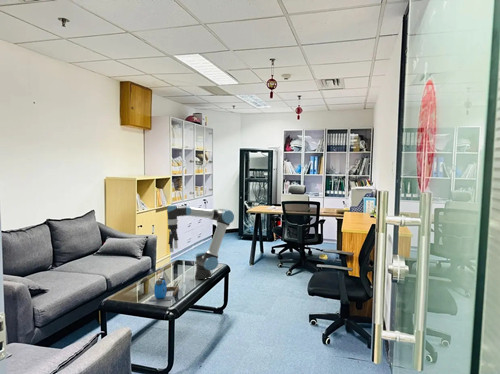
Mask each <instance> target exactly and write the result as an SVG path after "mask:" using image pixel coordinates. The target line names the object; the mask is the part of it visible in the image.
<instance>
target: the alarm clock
mask: <svg viewBox="0 0 500 374" xmlns="http://www.w3.org/2000/svg"><path fill="white" fill-rule="evenodd" d="M167 287H168V284H167V282H166V278H165V277H164V276H160V277H158V279H157V280H156V281H155V282H154V287H153V289H154V290H153V293H154V296H155V298H157V299H159V298H165V296H167V292H168V290H167Z"/></svg>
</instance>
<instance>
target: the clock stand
mask: <svg viewBox="0 0 500 374" xmlns="http://www.w3.org/2000/svg"><path fill="white" fill-rule="evenodd" d="M167 291H173V292H172V296H173V297H175V296H176V295H177V293H178V291H180V287H179V286H167Z"/></svg>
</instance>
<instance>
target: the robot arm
mask: <svg viewBox="0 0 500 374" xmlns="http://www.w3.org/2000/svg"><path fill="white" fill-rule="evenodd" d="M166 209H167V210H166V212H167V229H168V230H169V231H168V235H169V236H168V245H169V253H174V249H175V250H176V249H179V248H178V245H179V244H178V241H179V237H178V227H179V226H178V221H179V220H178V217H186V216H188V217H195V218H205V219H209V220H212V221H216V224H217V225H216V228H215V231H214V234H213V236H212V239H211V242H210V244H209V248H208V250H207V251H201V252H200V251H199V252H197V253H196V254H195V266H196V271H195V275H194V279H195V280H196V279H205V278H208V277H211V276H212V277H213V275H212V274H213V273H212V271H214V270H216V269H217V267H218V265H219V260H218V259H219V254H218V253H219V252H220V249H221V248H220V247H221V245H222V242H223V240H224V236H225V234H226V230H227V228H229V227H230V224H231V223H233V222H234V220H235V214H234V213H233V211H232V210H230V209H227V208H226V209H224V208H211V209H205V208H198V207H191V206H189V205H188V206H181V205H175V204H173V205H172V204H171V205H170V204H169V205H168V206H167V207H166Z"/></svg>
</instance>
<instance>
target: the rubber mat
mask: <svg viewBox="0 0 500 374" xmlns="http://www.w3.org/2000/svg"><path fill="white" fill-rule="evenodd" d="M173 297H174V296H173V295H166V296H165V298H159V299H157V298H155V295H154V296H151V297H150V298H149V300H148V302H161V301H163V302H164V301H165V302H167V301H169V302H170V301H171V300H172V299H173Z"/></svg>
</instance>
